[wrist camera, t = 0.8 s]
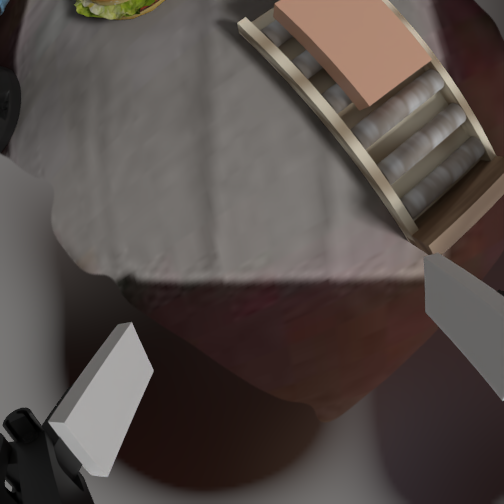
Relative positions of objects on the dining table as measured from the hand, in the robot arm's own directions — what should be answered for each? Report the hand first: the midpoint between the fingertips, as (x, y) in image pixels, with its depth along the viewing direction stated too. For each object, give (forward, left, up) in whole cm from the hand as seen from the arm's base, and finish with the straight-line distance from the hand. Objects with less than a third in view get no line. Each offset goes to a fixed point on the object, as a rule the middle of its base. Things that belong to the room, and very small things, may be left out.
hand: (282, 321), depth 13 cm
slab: (-10, +20, -22) cm, 32 cm away
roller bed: (-3, +20, -26) cm, 33 cm away
